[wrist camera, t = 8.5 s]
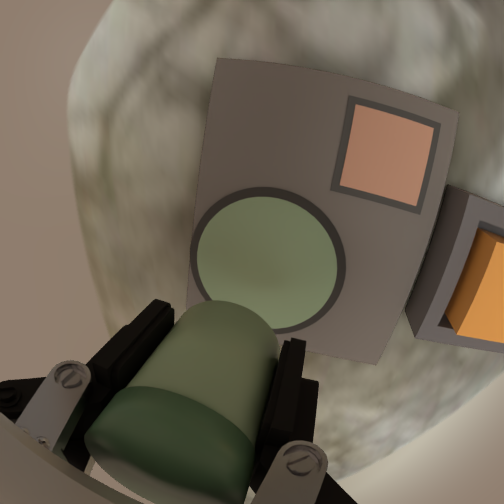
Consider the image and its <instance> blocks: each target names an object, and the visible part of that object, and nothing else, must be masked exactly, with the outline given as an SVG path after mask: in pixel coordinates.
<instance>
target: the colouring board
mask: <svg viewBox="0 0 504 504" xmlns="http://www.w3.org/2000/svg"><path fill="white" fill-rule="evenodd" d="M458 118H459V112H457V111H455V110H452V109H450V108H447V107H445V106H442V105H440V104H437V103H434V102H432V101H429V100H426V99H423V98H421V97H418V96H415V95H412V94H409V93H406V92H403V91H400V90H396V89H393V88H390V87H386V86H383V85H380V84H376V83H372V82H369V81H365V80H361V79H357V78H353V77H349V76H344V75H340V74H335V73H331V72H326V71H321V70H315V69H310V68H304V67H298V66H292V65H285V64H278V63H270V62H261V61H251V60H240V59H226V58H217V62H216V67H215V73H214V78H213V84H212V90H211V96H210V102H209V108H208V114H207V120H206V127H205V134H204V141H203V148H202V155H201V162H200V170H199V178H198V186H197V194H196V203H195V212H194V221H193V231H192V241H191V247H190V264H189V276H188V289H187V304H186V311H187V310H188V309H189V308H190V307H192V306H194V305H196V304H198V303H201V302H205V301H212V300H220V301H228V302H232V303H236V304H239V305H242V306H244V307H246V308H248V309H250V310H252V311H253V312H255V313H256V314H258V315H259V316H260V317H261V318H262V319H264V320H265V321H266V322H267V323H268V325H269V326H270V327H271V328H272V330H273V332H274V333H275V335H276V337H277V340H278V343H279V344H280V345H283V343H284V340H287V341H290V340H291V337H292V338H296V339H301V340H305V341H307V342H306V350H305V351H310V352H314V353H319V354H323V355H328V356H332V357H337V358H342V359H347V360H352V361H357V362H362V363H367V364H372V365H377V363H378V361H379V359H380V357H381V355H382V353H383V351H384V349H385V347H386V345H387V343H388V341H389V339H390V337H391V335H392V332H393V330H394V328H395V326H396V324H397V321H398V319H399V317H400V315H401V312H402V310H403V308H404V305H405V303H406V301H407V298H408V296H409V293H410V291H411V288H412V286H413V283H414V281H415V278H416V275H417V273H418V270H419V267H420V265H421V262H422V259H423V256H424V253H425V250H426V248H427V245H428V242H429V238H430V235H431V232H432V229H433V226H434V223H435V219H436V216H437V213H438V209H439V205H440V202H441V198H442V194H443V191H444V187H445V183H446V179H447V174H448V170H449V166H450V161H451V157H452V152H453V147H454V142H455V136H456V131H457V125H458Z"/></svg>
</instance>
